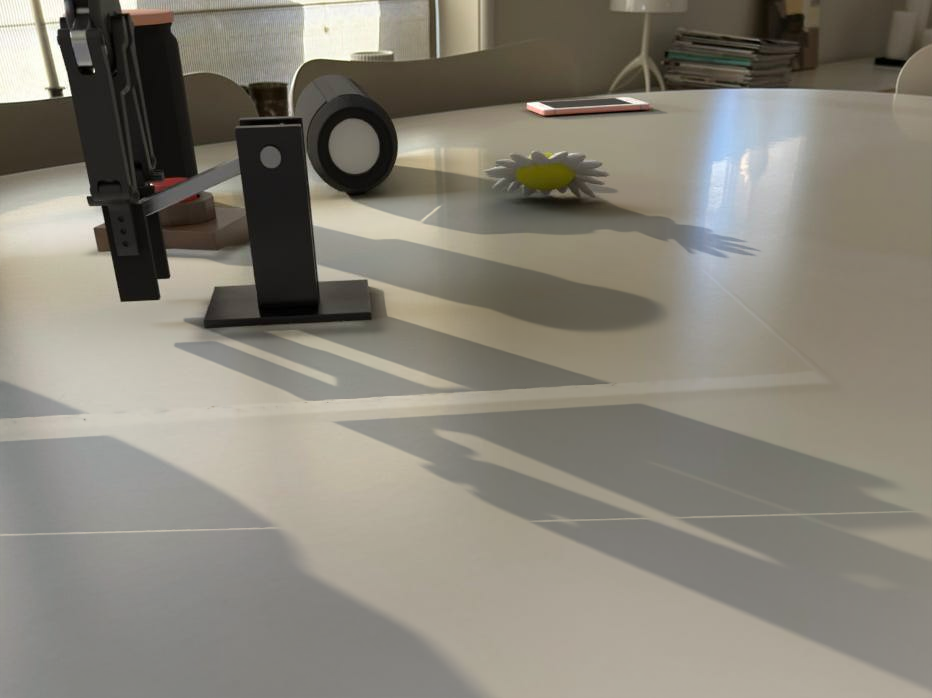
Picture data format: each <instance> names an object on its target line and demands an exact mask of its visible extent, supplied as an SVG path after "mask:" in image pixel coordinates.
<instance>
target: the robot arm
mask: <svg viewBox="0 0 932 698" xmlns="http://www.w3.org/2000/svg"><path fill="white" fill-rule="evenodd" d="M63 6H64V14H65V16H66V17H63V16H60V17H59V18H58V19H59V20H58V21H59V28H58V29H57V31H56V34H57V35H56V42H57V45H58V46H59V49H60V53H61V56H62V60H63V64H64V67H65V70H66V74H67V75H66V76H67V80H68V84H69V90H70V95H71V99H72V105H73V109H74V114H75V120H76V125H77V129H78V134H79V139H80V143H81V148H82V154H83V159H84V164H85V168H86V169H85V170H86V173H87V179H88V183H89V193H90V195H86V201H87V202H86V203H87V205H88V206H89V207H101V211H102V216H103V217H102V218H103V223H105V227H106V232H107V237H108V242H109V247H110V256H111V261H112V266H113V271H114V275H115V281H116V285H117V291H118V296H119V302H120V303H127V302H128V303H129V302H149V301H150V302H151V301H160V300H161V292H160V286H159V280H169V279H170V278H171V270H170V265H169V264H170V263H169V259H168V253H167V249H166V247H165V241H164V236H163V230H162V224H161V218H160V213H159V211H157V212H155V213H153V214H150V215H148V216H146V213H145V208H144V202H143V201H142V202H139V199H140V196H139V194H140V195H142V196H144V197H145V198H146V197H148V196H150V195H153V194H155V193H156V190H155V185H150V186H148V183H164V173H163V170H152V169H155V167H156V158H155V156H154V153H153V147H152V142H151V136H150V130H149V124H148V119H147V113H146V107H145V102H144V96H143V90H142V84H141V79H140V73H139V67H138V61H137V56H136V48H135V40H134V23H133V22H132V20H131V16H130V14H129V13H122V10H123V9H122V5H121V1H120V0H63ZM107 180H113V181H107Z"/></svg>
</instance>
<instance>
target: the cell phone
mask: <svg viewBox="0 0 932 698" xmlns="http://www.w3.org/2000/svg"><path fill="white" fill-rule="evenodd" d="M649 109H650V103H649V102H647V101H642V100H639V99H636V98H633V97H629V96H623V97H604V98H603V97H602V98H601V97H600V98H587V99H566V100H552V101H551V100H550V101H548V100H547V101H533V102H527V103H526V110H528V111H531V112H533V113H536V114H539V115H540V116H557V115H558V116H559V115H561V116H562V115H576V114H591V113H592V114H593V113H608V112H609V113H611V112H625V111H627V112H629V111H640V110H641V111H645V110H649Z"/></svg>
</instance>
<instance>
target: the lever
mask: <svg viewBox="0 0 932 698" xmlns="http://www.w3.org/2000/svg"><path fill="white" fill-rule="evenodd" d="M279 125H284V123H281V124H279ZM238 176H241V173H240V166H239V158H238V155H237V156H235V157H232V158H231V159H228V160H225V162H224V161H223V162H221V163H219V164H217V165H215V166H213V167H211V168H208V169H206V170H204V171H202V172H200V173H199V172H198V174H197V175H195V176H193V177H190V178H188V179H186V180H184V181H182V182H179V183H177V184H175V185H173V186H170V187H168V188H166V189H164V190H162V191H159V192H157V193H155V194H153V195H150V196H148V197H146V198H145V197H144V196H142V195H140V194H139V196H140V199H139V202H142V201H143V202H144V208H145V213H146V216H148V215H150V214H153V213H155V212H157V211H159V210H162V209H164V208H166V207H168V206H171V205H173V204H175V203H177V202H179V201H182V200H184V199H186V198H188V197H191V196H193V195H195V194H197V193H200V192H202V191H206V190H209V189H211V188H213V187H215V186H217V185H220V184H222V183H224V182H227V181H228V180H229V181H230V180H231V179H233V178H235V177H238Z"/></svg>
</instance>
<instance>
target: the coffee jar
mask: <svg viewBox="0 0 932 698" xmlns="http://www.w3.org/2000/svg"><path fill="white" fill-rule="evenodd" d="M121 10H122V13H129V14H130V16H131V20H132V22H133V23H134V40H135V48H136V56H137V61H138V67H139V73H140V79H141V84H142V90H143V96H144V102H145V107H146V113H147V119H148V124H149V130H150V136H151V142H152V147H153V153H154V156H155V158H156V167H155V169H152V170H163V173H164V179H165V178H190V177H193V176H195V175H197V174H199V171H198V164H197V157H196V151H195V146H194V145H195V144H194V139H193V138H194V137H193V132H192V124H191V118H190V113H189V106H188V99H187V92H186V86H185V79H184V73H183V66H182V60H181V53H180V47H179V42H178V39H177V37H176V36H175V35H174V33H173V32H172V26H173V22H175V19H174V18H175V17H174V11H173V10H171V9H163V8H162V9H161V8H159V9H158V8H134V9H132V8H131V9H121ZM62 17H66V16H65V13H62ZM107 181H113V180H107ZM148 186H150V183H148Z"/></svg>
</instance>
